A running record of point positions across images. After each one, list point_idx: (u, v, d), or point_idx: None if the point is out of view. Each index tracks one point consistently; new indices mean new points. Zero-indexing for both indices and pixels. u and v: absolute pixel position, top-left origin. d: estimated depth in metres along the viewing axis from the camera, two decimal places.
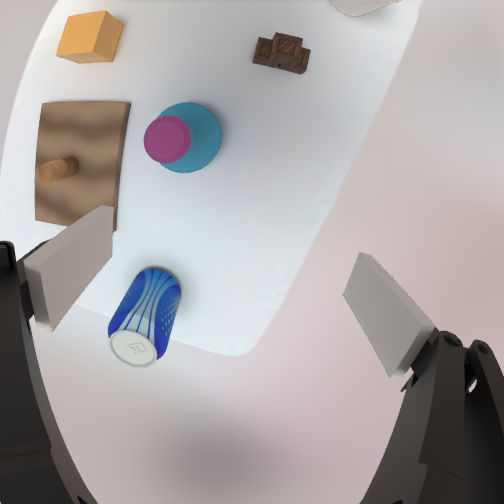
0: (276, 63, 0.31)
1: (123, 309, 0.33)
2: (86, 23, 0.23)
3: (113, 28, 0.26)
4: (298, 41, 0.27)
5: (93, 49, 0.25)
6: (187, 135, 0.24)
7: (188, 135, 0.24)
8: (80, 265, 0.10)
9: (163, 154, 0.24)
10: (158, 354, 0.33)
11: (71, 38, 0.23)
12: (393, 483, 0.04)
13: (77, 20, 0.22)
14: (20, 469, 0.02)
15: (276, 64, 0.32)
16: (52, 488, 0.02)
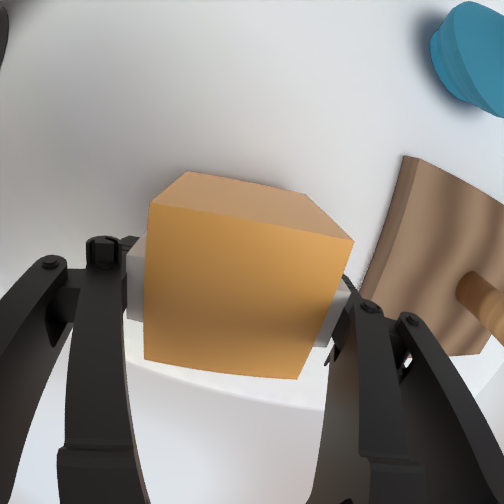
0: None
1: None
2: (196, 287, 0.09)
3: (212, 186, 0.12)
4: None
5: (343, 237, 0.09)
6: None
7: None
8: None
9: None
10: None
11: (250, 339, 0.10)
12: (338, 476, 0.04)
13: (170, 327, 0.10)
14: (94, 465, 0.03)
15: None
16: (126, 489, 0.02)
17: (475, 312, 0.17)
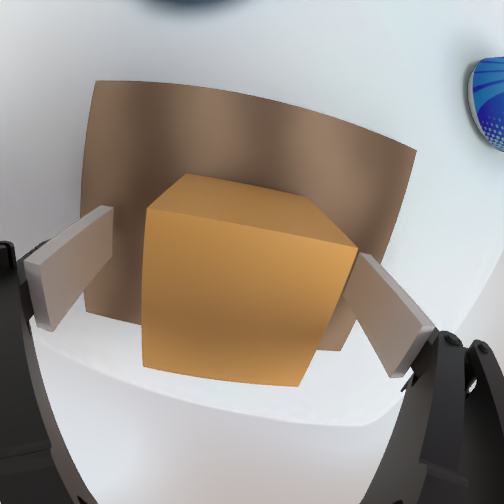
0: None
1: None
2: (196, 295, 0.09)
3: (212, 189, 0.12)
4: None
5: (347, 243, 0.09)
6: None
7: None
8: (80, 265, 0.10)
9: None
10: None
11: (251, 347, 0.10)
12: (393, 483, 0.04)
13: (169, 335, 0.10)
14: (20, 469, 0.02)
15: None
16: (52, 488, 0.02)
17: None
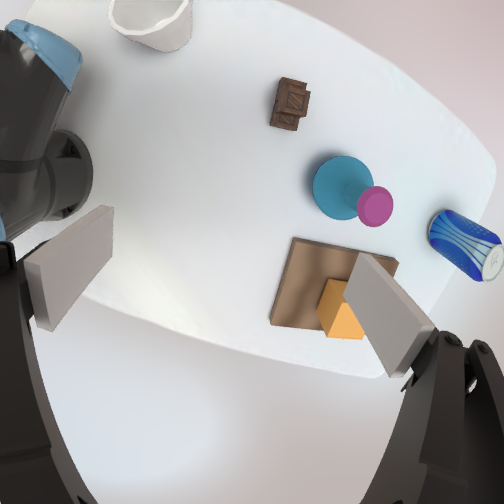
0: None
1: (466, 263, 0.35)
2: (346, 318, 0.40)
3: (343, 289, 0.42)
4: (288, 89, 0.30)
5: None
6: (377, 189, 0.28)
7: (376, 188, 0.28)
8: (80, 265, 0.10)
9: (388, 211, 0.28)
10: (500, 243, 0.31)
11: (354, 328, 0.41)
12: (393, 483, 0.04)
13: (337, 327, 0.40)
14: (20, 469, 0.02)
15: None
16: (52, 488, 0.02)
17: None
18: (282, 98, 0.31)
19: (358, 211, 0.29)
